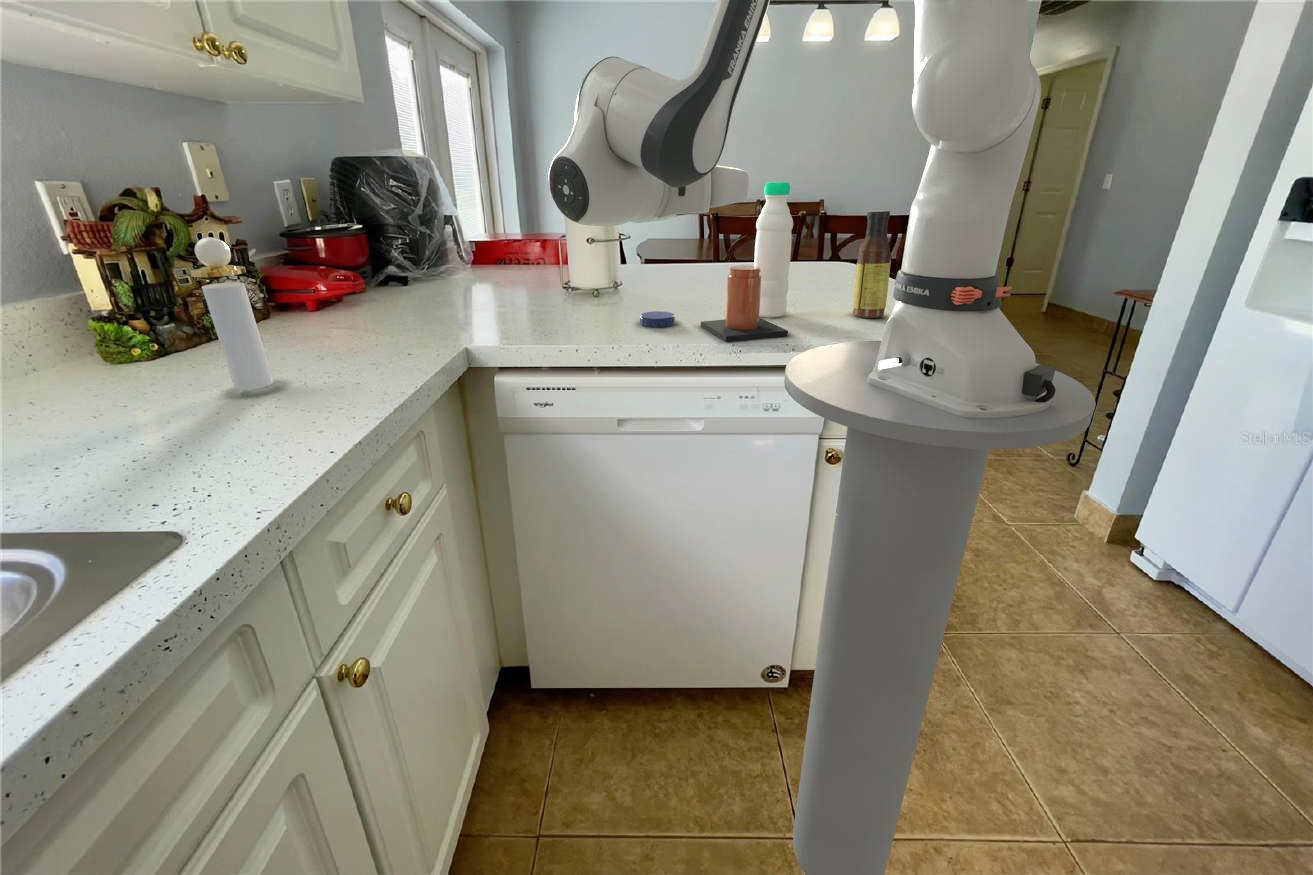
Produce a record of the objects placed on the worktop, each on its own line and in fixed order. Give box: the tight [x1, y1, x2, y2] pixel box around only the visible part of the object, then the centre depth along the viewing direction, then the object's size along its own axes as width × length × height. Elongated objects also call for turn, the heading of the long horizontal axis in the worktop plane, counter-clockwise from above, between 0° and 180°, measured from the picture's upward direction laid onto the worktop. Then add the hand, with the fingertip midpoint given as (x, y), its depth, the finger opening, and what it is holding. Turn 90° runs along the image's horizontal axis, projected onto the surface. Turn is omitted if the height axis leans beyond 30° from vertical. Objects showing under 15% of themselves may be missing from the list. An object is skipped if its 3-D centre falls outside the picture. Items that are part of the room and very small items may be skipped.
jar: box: [725, 264, 762, 330], centre depth 105 cm, size 6×6×10 cm
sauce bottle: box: [852, 209, 892, 319], centre depth 114 cm, size 6×6×20 cm
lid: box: [639, 310, 676, 329], centre depth 113 cm, size 6×6×2 cm
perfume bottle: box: [189, 236, 274, 391], centre depth 76 cm, size 6×6×20 cm
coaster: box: [700, 317, 789, 343], centre depth 107 cm, size 12×12×1 cm
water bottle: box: [753, 181, 794, 318], centre depth 115 cm, size 7×7×25 cm
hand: (709, 184), depth 89 cm, fingers open, 8 cm apart
